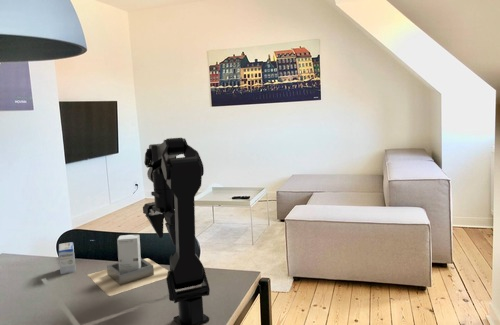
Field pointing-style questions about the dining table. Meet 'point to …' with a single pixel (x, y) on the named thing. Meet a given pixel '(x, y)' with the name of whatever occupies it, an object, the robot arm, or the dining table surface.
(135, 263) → the skincare box
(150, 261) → the board
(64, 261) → the medicine box
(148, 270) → the sleeve
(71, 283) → the dining table surface
